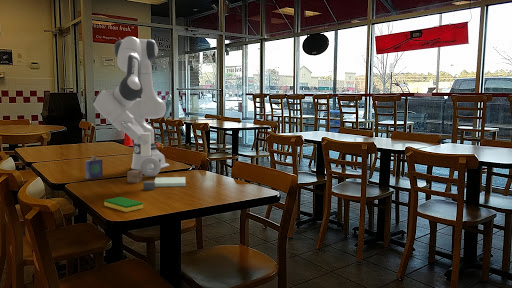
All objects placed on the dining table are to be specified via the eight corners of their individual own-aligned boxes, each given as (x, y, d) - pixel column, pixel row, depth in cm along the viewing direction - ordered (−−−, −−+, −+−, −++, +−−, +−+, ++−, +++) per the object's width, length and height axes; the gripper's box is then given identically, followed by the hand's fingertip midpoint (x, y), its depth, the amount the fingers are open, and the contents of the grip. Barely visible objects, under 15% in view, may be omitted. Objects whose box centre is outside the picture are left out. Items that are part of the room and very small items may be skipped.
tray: (155, 180, 197) (155, 177, 197) (185, 180, 199) (185, 177, 199) (153, 186, 183) (153, 183, 183) (185, 186, 186) (185, 182, 186)
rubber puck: (148, 187, 182) (148, 180, 182) (157, 188, 180) (157, 181, 180) (140, 189, 178) (140, 182, 178) (149, 190, 176) (149, 183, 175)
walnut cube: (132, 180, 198) (132, 170, 197) (142, 180, 197) (142, 170, 196) (127, 182, 193) (127, 171, 192) (137, 182, 192) (136, 172, 191)
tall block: (141, 154, 188) (141, 132, 187) (150, 154, 188) (150, 132, 187) (140, 155, 184) (140, 133, 183) (150, 155, 184) (149, 133, 183)
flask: (87, 179, 197) (86, 157, 196) (83, 179, 199) (83, 157, 198) (104, 176, 205) (103, 155, 204) (100, 176, 207) (99, 155, 206)
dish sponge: (126, 213, 142) (126, 206, 142) (103, 206, 150) (103, 199, 150) (143, 209, 147) (143, 202, 147) (121, 202, 156) (120, 196, 156)
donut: (160, 175, 211) (159, 156, 210) (161, 176, 208) (161, 157, 207) (140, 176, 207) (139, 156, 206) (141, 177, 204) (140, 157, 203)
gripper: (125, 117, 173) (150, 140, 175) (132, 115, 193) (153, 136, 196) (115, 128, 173) (139, 151, 175) (122, 124, 193) (144, 145, 195)
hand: (147, 143), depth 186 cm, fingers closed on tall block, 4 cm apart
